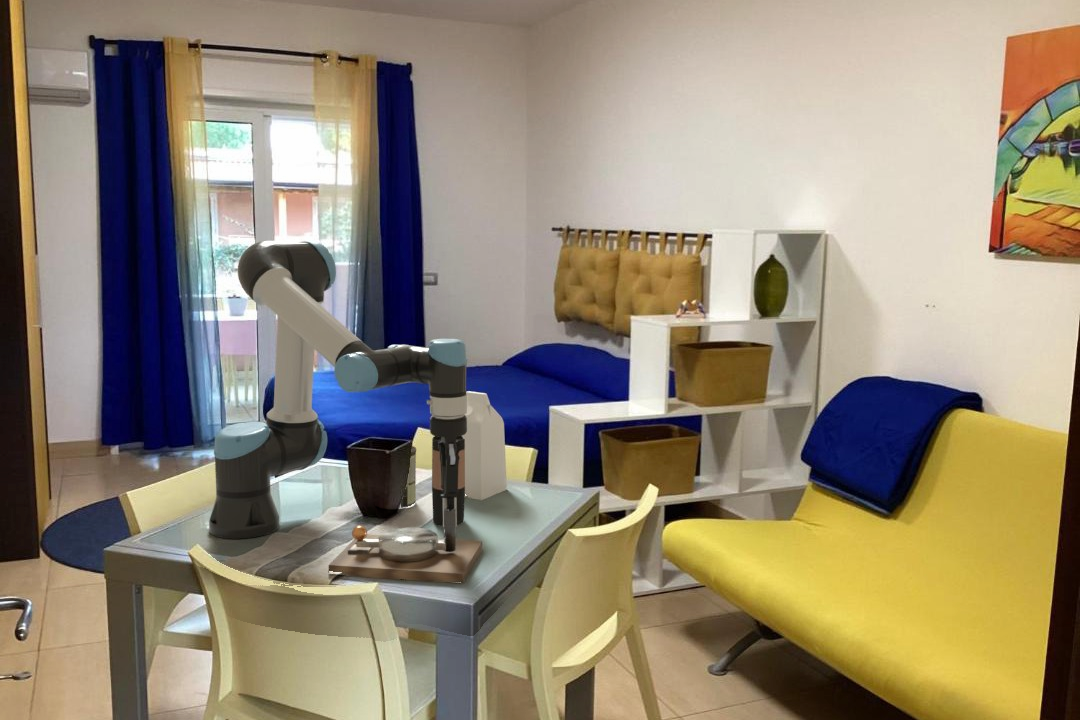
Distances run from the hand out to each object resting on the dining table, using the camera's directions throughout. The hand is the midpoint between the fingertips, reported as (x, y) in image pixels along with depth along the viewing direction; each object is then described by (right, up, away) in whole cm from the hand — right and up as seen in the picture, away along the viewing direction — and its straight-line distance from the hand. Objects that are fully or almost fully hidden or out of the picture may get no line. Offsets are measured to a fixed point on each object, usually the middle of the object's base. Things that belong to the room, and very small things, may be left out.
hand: (449, 526), depth 193 cm
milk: (+2, 0, +49) cm, 49 cm away
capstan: (-8, -5, -3) cm, 10 cm away
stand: (-8, -7, -2) cm, 11 cm away
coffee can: (-17, -1, +37) cm, 41 cm away
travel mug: (-3, -3, +24) cm, 24 cm away
